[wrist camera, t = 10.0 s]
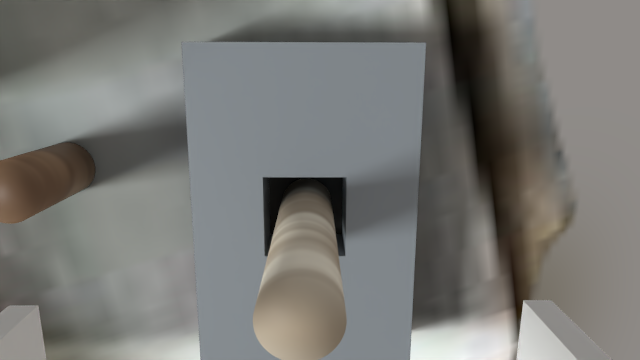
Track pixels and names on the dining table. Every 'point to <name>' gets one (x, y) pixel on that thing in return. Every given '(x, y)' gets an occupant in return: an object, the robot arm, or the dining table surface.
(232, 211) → the grey block with hole
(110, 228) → the dining table surface
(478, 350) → the dining table surface
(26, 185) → the short pin
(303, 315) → the long pin
